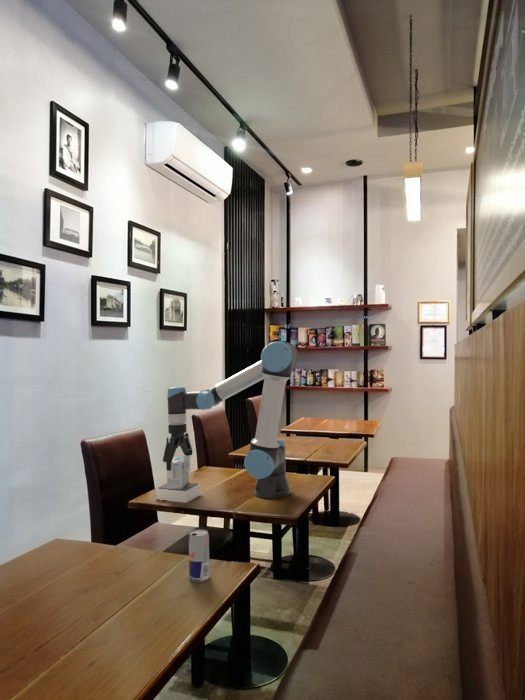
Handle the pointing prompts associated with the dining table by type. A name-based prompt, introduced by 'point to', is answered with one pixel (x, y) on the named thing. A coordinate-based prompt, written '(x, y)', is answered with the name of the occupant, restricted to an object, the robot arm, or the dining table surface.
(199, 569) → the energy drink
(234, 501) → the dining table surface
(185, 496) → the stand
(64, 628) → the dining table surface
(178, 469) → the light bulb box
